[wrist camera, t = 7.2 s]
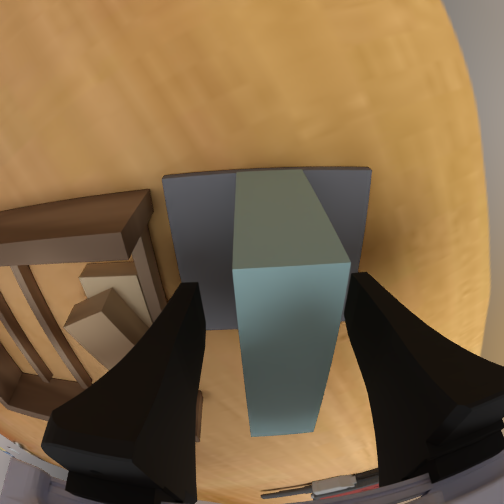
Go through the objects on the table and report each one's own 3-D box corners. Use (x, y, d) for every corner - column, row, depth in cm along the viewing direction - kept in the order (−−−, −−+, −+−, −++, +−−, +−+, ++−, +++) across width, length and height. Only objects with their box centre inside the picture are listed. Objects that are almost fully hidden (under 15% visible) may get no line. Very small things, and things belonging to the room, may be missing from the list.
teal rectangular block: (295, 325, 16) (313, 431, 11) (248, 328, 16) (251, 436, 11) (301, 169, 11) (350, 262, 6) (236, 171, 11) (232, 269, 6)
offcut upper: (187, 367, 16) (184, 391, 15) (149, 377, 17) (144, 399, 16) (111, 287, 13) (101, 311, 12) (74, 304, 14) (63, 327, 12)
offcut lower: (177, 361, 19) (174, 381, 17) (134, 360, 19) (129, 380, 17) (145, 254, 14) (136, 275, 13) (90, 258, 14) (78, 277, 13)
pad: (346, 315, 16) (347, 320, 16) (193, 324, 16) (192, 330, 16) (368, 167, 12) (372, 170, 11) (164, 175, 12) (161, 178, 11)
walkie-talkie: (394, 456, 33) (258, 487, 36) (401, 482, 29) (259, 513, 33) (393, 469, 37) (275, 496, 41) (398, 491, 34) (277, 518, 37)
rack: (202, 398, 20) (199, 442, 17) (20, 378, 20) (7, 409, 17) (149, 188, 12) (120, 232, 9) (-68, 227, 12) (-98, 256, 9)
